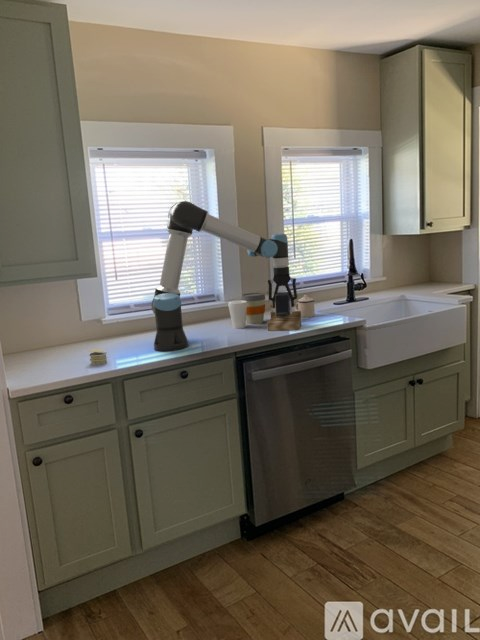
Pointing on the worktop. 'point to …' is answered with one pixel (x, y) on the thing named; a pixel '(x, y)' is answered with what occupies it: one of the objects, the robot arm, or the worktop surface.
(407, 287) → the worktop surface
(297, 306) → the teacup with lid
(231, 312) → the foam cup
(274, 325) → the dock
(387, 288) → the worktop surface
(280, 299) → the small box
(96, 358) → the stacked layers on plate
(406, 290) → the worktop surface
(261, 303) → the reusable coffee cup
